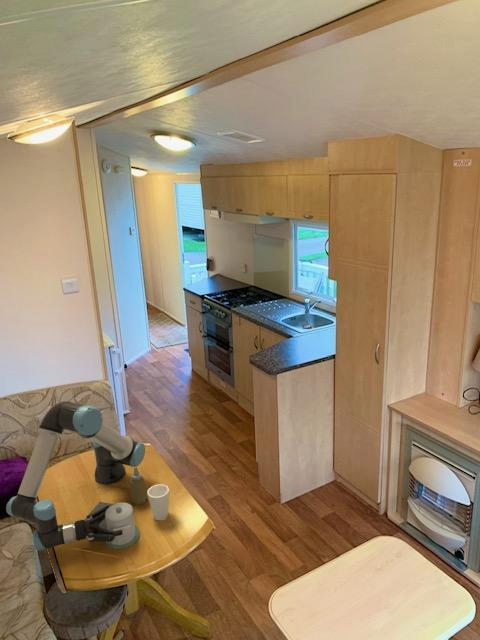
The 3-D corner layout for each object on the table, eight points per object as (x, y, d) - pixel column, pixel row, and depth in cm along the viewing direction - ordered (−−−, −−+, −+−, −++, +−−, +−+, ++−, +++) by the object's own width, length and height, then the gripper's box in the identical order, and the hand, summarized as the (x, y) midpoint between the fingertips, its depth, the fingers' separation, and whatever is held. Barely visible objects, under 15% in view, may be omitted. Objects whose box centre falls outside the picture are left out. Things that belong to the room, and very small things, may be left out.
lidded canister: (117, 524, 213) (113, 496, 209) (140, 528, 210) (136, 500, 206) (103, 542, 203) (99, 513, 199) (127, 546, 200) (123, 518, 196)
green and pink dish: (116, 523, 215) (115, 514, 214) (145, 528, 211) (144, 519, 210) (99, 546, 202) (97, 536, 201) (129, 552, 199) (128, 542, 197)
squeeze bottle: (136, 509, 224) (132, 475, 218) (127, 501, 229) (123, 467, 224) (151, 501, 229) (148, 467, 223) (142, 493, 234) (138, 460, 229)
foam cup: (167, 524, 213) (164, 498, 210) (146, 522, 215) (144, 496, 211) (174, 509, 222) (171, 485, 218) (154, 507, 224) (152, 483, 220)
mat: (99, 502, 229) (99, 501, 229) (126, 506, 226) (126, 506, 225) (79, 525, 215) (79, 524, 215) (108, 530, 211) (108, 530, 211)
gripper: (75, 519, 211) (126, 507, 218) (77, 560, 189) (133, 545, 195) (73, 504, 209) (124, 493, 215) (74, 544, 187) (131, 530, 193)
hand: (128, 518), depth 205 cm, fingers open, 13 cm apart
